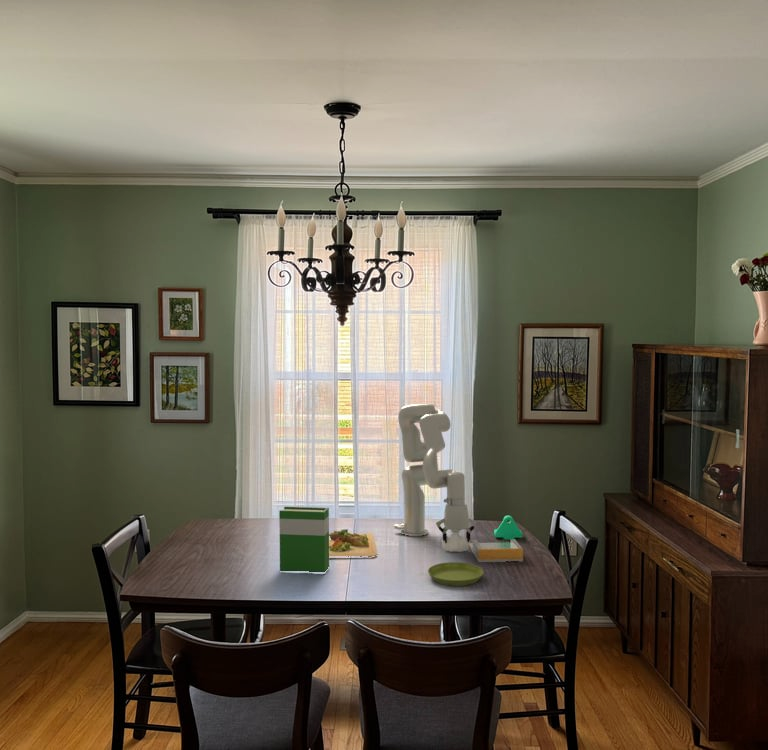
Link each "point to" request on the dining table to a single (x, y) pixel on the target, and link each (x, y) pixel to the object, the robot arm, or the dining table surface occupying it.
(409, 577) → the dining table surface
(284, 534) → the green cereal box
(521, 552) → the shallow tray
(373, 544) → the cutting board
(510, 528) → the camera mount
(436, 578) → the saucer
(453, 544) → the bust
